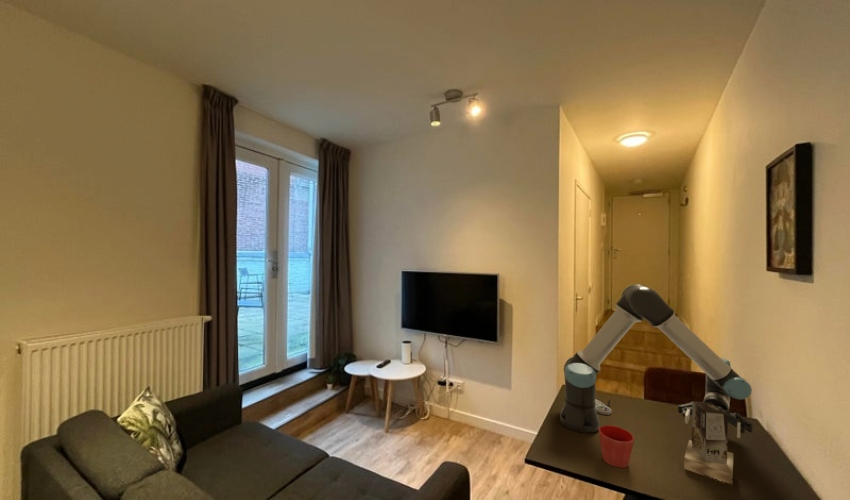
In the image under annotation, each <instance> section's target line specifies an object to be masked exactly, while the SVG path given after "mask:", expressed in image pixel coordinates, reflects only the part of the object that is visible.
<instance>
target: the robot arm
mask: <svg viewBox="0 0 850 500" xmlns="http://www.w3.org/2000/svg"><path fill="white" fill-rule="evenodd" d="M675 313H676V311H675V310H674V309H673V308H672V307H671V306H670V305H669V304H668V303H667V302H666V301H665V299H663V297H661V295H660V294H659V293H658V292H657V291H656V290H654V289H653V288H650V287H648V286H646V285H643V284H632V285H629V286H627V287H626V288H625V289H624V290H623V291H622V293H621V297H620V298H619V300H618V301H617V302H616V303H615V311H613V313H612V314H611V316H610V317H609V318H608V319H607V320H606V322H605V323H604V324H603V325H602V327H601V328H599V330H598V332H597V333H596V334H595V335H594V336H593V337H592V339H591V340H590V341H589V342H588V343H587V345H586V346H584V348H583V350H579V351H578V350H577V351H576V352H575V354H574V355H573V356H572V357H569V358H568V359H567V360H566V361H565V362H564V363H565V364H564V365H563V366H564V367H563V375H564V403H563V406H562V409H561V411H560V414H559V420H560V423H561V424H562V425H563V426H564V427H566V428H567V429H570V430H572V431H576V432H579V433H586V434H588V433H589V434H590V433H595V432H599V428H600V427H601V426H600V425H601V424H600V423H601V421H600V419H599V414H598V412H596V409H595V399H596V383H597V382H596V381H597V376H598V374H599V372H600V371H601V364H602V362H603V361H604V360H605V359H606V358H607V356H608V355H609V354H610V353H611V352H612V351H613V349H614V348H615V347H616V346H617V345H618V343H620V341H621V340H622V338H624V336H625V335H626V334H627V333H628V332H629V331H630V329H631V328H632V327H633V326H634V324H635V323H640V322H643V320H645V321H647V322H648V323H649V324H650V325H651V326H652V327H653V328H658V329H659V330H660V331H661V332H662V333H663V334H664V335H665V336H666V337H668V339H669V340H671V342H672V343H673V344H675V346H677V347H678V348H679V349H680V350H681V351H682V352H683V353H684V354H685V355H686V356H687V357H688V359H690V360H692V361H693V363H694V364H695V365H696V366H697V367H699V368H700V370H702V371H703V372H704V373H705V395H704V398H703V401H702V402H708V403H713V404H714V405H716V406H717V407H719V408H720V409H721V410H723V411H724V412H726V413H727V414H728V424H730V425H732V426H733V427H735V428H736V438H738V439H741V434H746V431H747V432H749V433H753V426H754V425H753V424H752V423H751V422H750V421H749V420H747V419H746V418H745V417H744V416H742V415H741V413H740V412H737V411H735V412H733V413H732V412H730V411H729V410H730V402H731V398H733V399H735V400H745V399H747V398H749V397H750V396H751V395H752V386H751V385H750V383H749V382H748V381H747V380H746V379H745V378H743V377H742V376H740V375H739V374H738V373H737V372H736V371H735V370H734V369H733V368H732V366H731V361H729V360H728V359H726V358H721V357H720V356H719V355H718V354H717V353H716V352H714V350H713V349H711V348H710V347H709V346H708V345H707V344H706V343H705V342H704V341H703V340H702V339H701V338H699V336H697V334H696V333H694V331H692V330H691V329H690V328H689V327H688V326H687V325H686V324H685V323H684V322H683V321H682V320H681V319H679V318H678V316H676V315H675ZM677 413H678V414H682V417H683V418H684V423H685V424H686V425H687V424H689V421H690V418H691V416H692V401H691V402H687V403H684V404H678V405H677Z"/></svg>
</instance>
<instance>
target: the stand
mask: <svg viewBox="0 0 850 500" xmlns="http://www.w3.org/2000/svg"><path fill="white" fill-rule="evenodd" d="M683 458H684V461H683V462H684V465H683V469H684V470H687V471H690V472H692V473H696V474H697V475H701V476H704V475H705V476H704V477H706V476H708V477H707V478H709V477H710V478H709V479H712V478H713V480H715V479H717V480H716V481H718V480H719V481H718V482H721V481H723V482H722V483H724V482H727V483H731V484H732V485H733V480H732V479H733V478H734V477H733V476H734V475H733V473H734V453H733V452H730V451H727V464H724V463H717V462H710V461H705V460H704V459H703V458H702V457H701V456H700V454H699V453H698V452H697V451H696V450H695V449H694V448H693V447H692V439H689V440H688V443H687V446H686V450H685V454H684V457H683Z"/></svg>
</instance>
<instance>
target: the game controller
mask: <svg viewBox="0 0 850 500" xmlns="http://www.w3.org/2000/svg"><path fill="white" fill-rule="evenodd" d="M610 402H611V400H608V401H607V404H605V403H603V402H601V401H600V400H598V399H596V398H595V409H596V411H597V414H601V415H604V416H609V415H612V411H613V410H612V409H611V408H610V407H609V406H610Z"/></svg>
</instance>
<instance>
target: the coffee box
mask: <svg viewBox="0 0 850 500" xmlns="http://www.w3.org/2000/svg"><path fill="white" fill-rule="evenodd" d="M691 402H692V415H691V441H692V447H693V448H694V449H695V450H696V451H697V452H698V453H699V454H700V456H701V457H702V458H703V459H704V460H705V461H710V462H717V463H724V464H727V452H728V429H729V427H728V426H729V425H728V424H729V423H728V414H727V413H726V412H724V411H723V410H721V409H720V408H719V407H717V406H716V405H714V404H713V403H708V402H703V401H691Z"/></svg>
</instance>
